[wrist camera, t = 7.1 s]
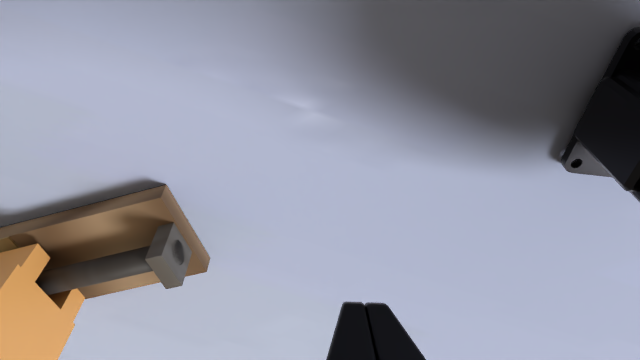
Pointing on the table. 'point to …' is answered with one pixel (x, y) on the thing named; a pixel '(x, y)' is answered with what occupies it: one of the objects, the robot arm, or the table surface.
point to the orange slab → (32, 308)
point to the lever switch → (113, 244)
